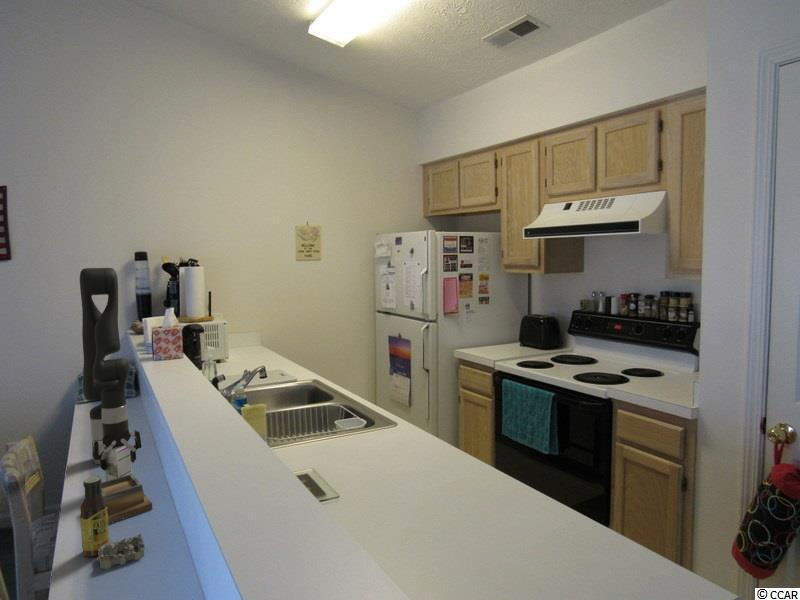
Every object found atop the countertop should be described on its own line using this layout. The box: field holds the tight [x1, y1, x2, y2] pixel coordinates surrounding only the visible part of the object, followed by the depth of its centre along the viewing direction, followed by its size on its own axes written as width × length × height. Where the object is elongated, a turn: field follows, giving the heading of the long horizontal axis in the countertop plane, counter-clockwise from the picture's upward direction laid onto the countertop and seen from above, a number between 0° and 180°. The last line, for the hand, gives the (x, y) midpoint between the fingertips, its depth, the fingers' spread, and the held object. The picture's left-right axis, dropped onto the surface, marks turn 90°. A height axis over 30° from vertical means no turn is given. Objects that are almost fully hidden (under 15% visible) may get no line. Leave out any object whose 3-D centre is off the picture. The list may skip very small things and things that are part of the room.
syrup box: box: [104, 445, 133, 481], centre depth 172 cm, size 6×6×14 cm
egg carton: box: [97, 533, 146, 570], centre depth 135 cm, size 11×8×4 cm
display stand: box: [101, 473, 153, 525], centre depth 159 cm, size 16×14×8 cm
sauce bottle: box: [80, 476, 110, 558], centre depth 137 cm, size 6×6×20 cm
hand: (118, 465), depth 172 cm, fingers open, 8 cm apart
